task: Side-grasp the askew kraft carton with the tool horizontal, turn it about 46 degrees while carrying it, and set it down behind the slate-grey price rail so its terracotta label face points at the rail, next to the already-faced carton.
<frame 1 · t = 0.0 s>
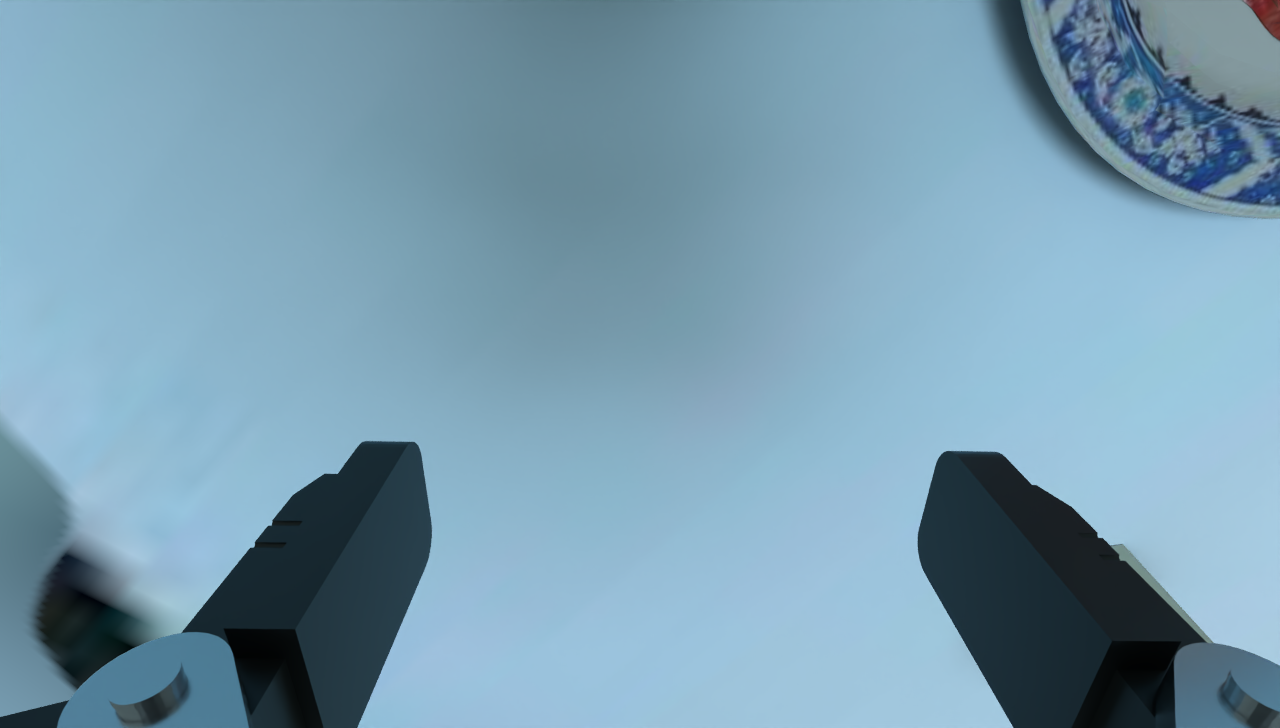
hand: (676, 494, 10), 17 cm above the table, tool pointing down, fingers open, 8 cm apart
carton: (1066, 582, 35), on the table
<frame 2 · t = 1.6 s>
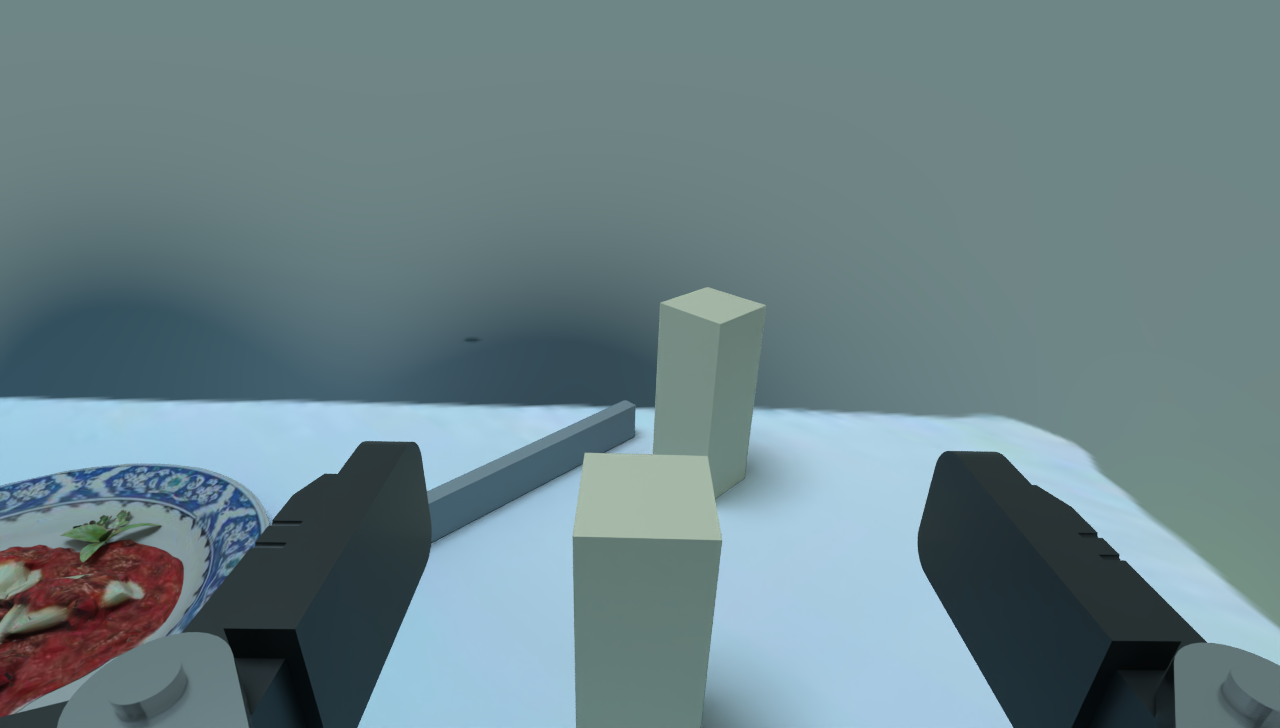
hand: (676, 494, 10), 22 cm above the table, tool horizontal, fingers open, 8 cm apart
ceramic plate: (4, 639, 34), on the table
faced carton: (698, 477, 48), on the table
price rail: (511, 494, 45), on the table
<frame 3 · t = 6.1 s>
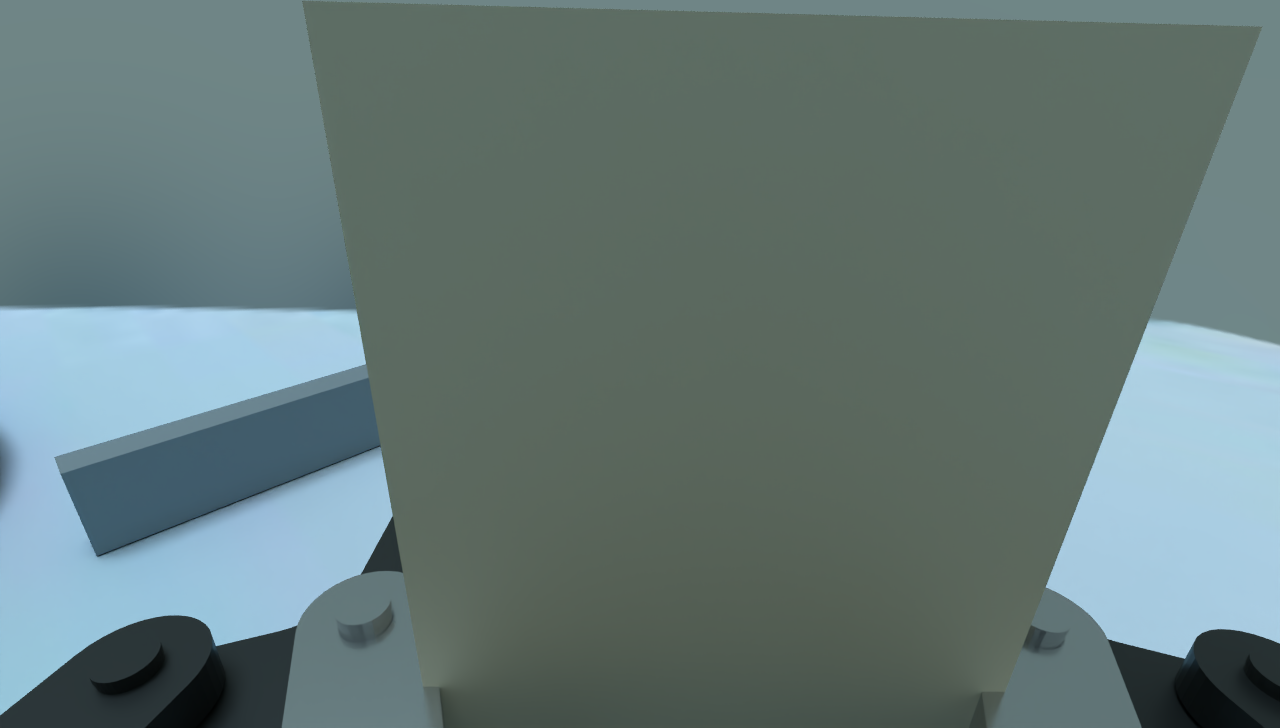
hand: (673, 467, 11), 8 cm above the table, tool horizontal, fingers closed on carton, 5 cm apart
price rail: (441, 413, 27), on the table
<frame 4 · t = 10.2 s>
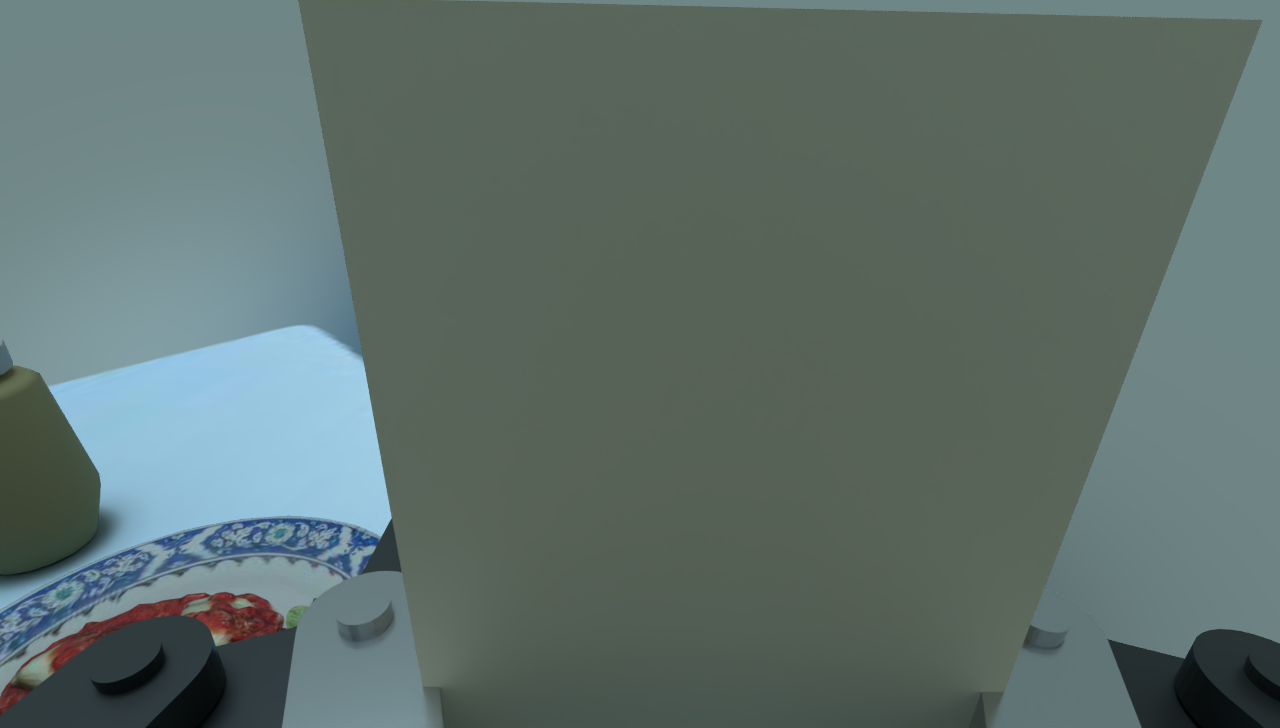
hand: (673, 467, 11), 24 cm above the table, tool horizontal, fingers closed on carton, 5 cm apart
ceramic plate: (175, 715, 32), on the table
squeeze bottle: (44, 548, 42), on the table
when the fingers open (9 cm above the table, at t = 14.3 s): carton stays where it is, on the table.
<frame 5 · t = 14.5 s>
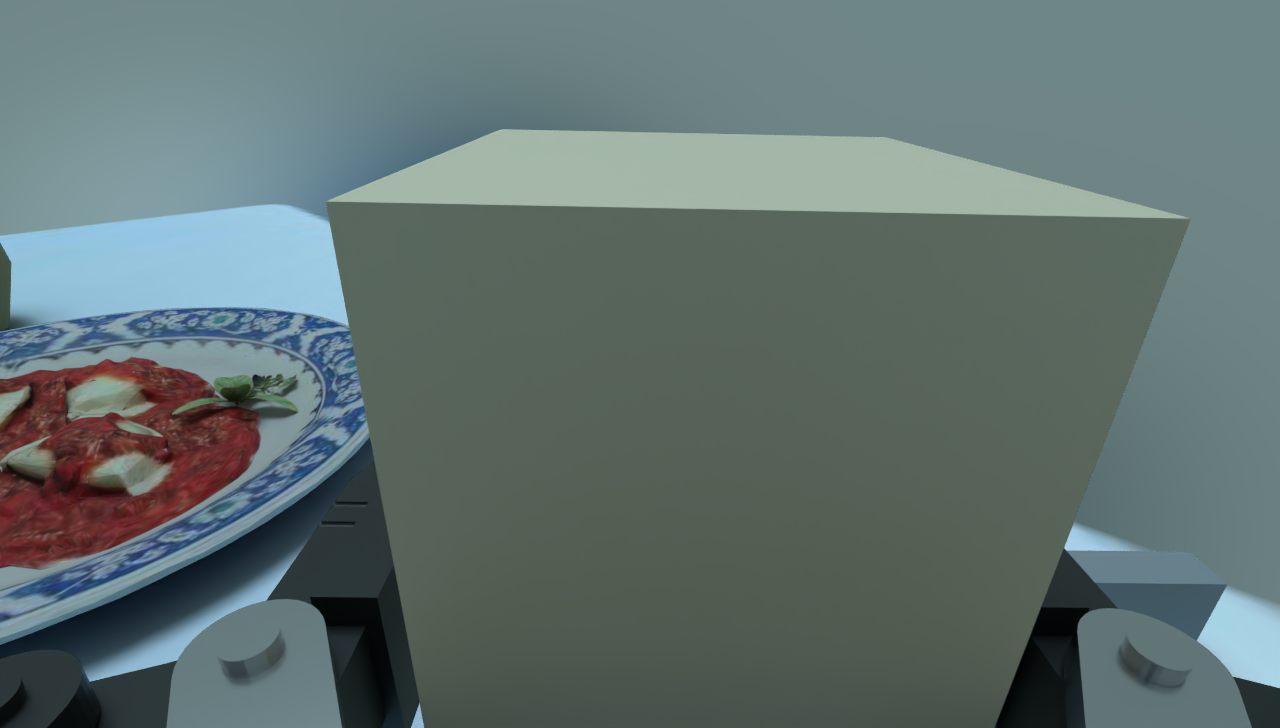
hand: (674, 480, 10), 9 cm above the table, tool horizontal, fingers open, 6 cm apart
ceramic plate: (66, 469, 26), on the table
price rail: (749, 644, 18), on the table
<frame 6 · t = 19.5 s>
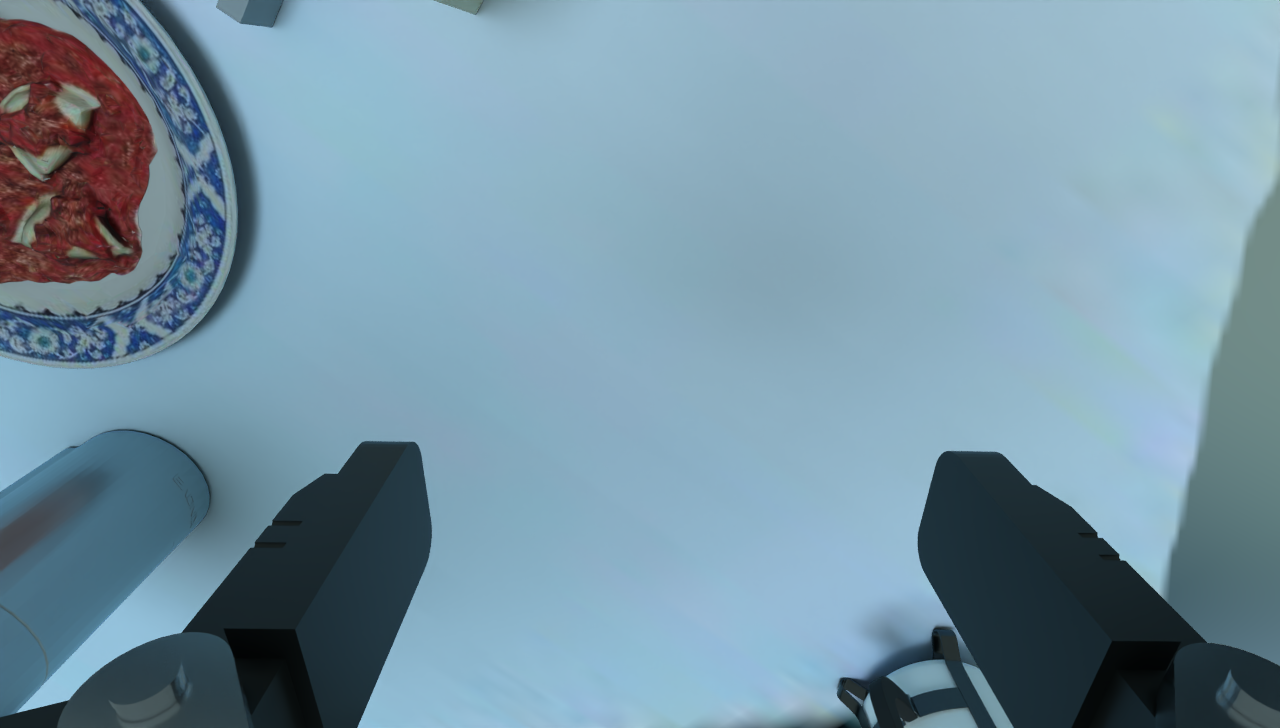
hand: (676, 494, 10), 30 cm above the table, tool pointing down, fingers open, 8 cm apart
ceramic plate: (29, 151, 37), on the table
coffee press: (907, 679, 55), on the table
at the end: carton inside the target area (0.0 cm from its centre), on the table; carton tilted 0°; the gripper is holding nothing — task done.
